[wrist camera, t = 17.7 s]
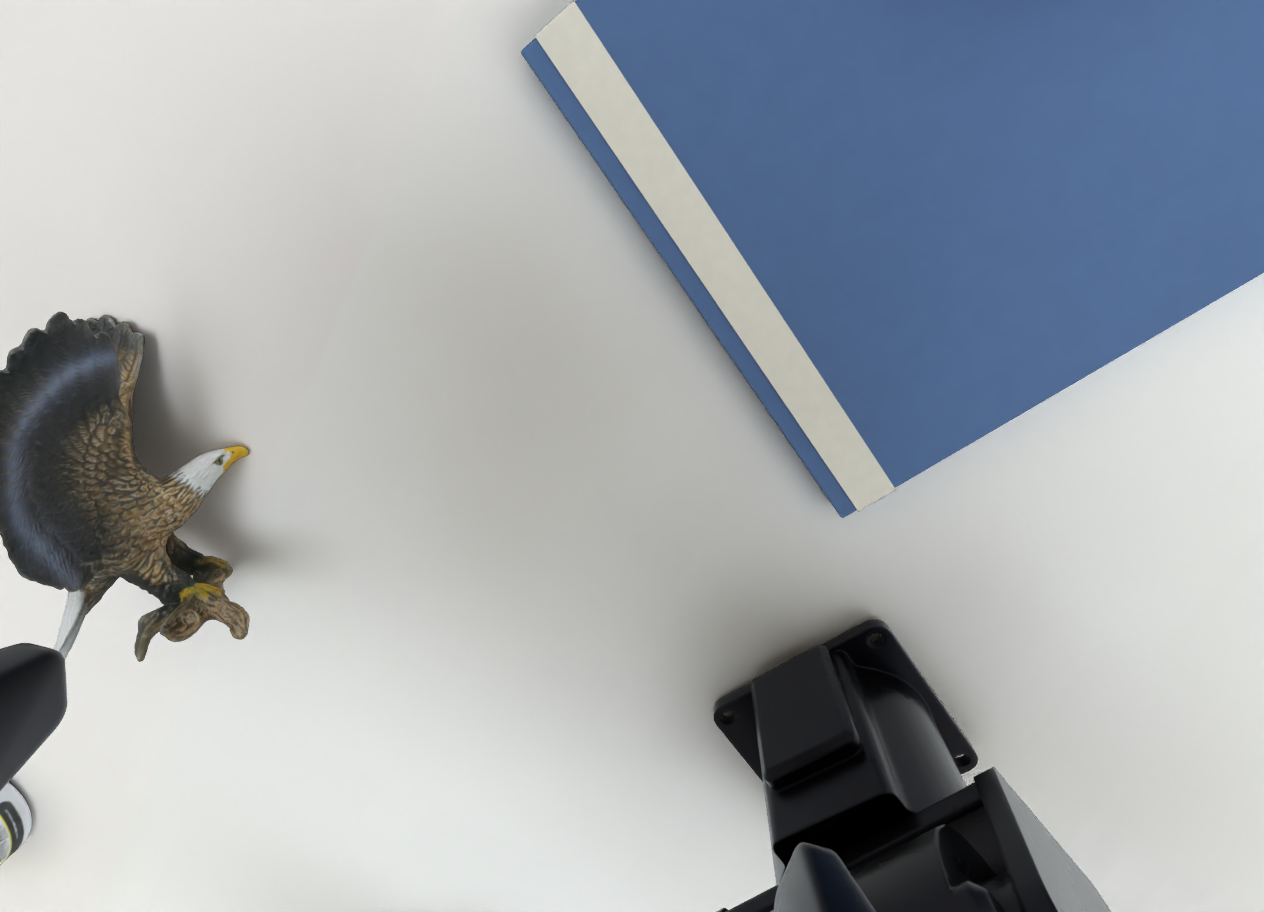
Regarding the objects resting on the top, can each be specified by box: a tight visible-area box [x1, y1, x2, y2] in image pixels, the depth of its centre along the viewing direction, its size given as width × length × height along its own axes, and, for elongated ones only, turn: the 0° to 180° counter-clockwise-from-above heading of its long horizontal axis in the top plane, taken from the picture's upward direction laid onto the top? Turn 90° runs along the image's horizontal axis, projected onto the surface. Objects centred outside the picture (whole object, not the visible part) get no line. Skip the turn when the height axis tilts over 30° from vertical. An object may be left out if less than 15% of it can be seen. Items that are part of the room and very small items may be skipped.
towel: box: [521, 0, 1264, 518], centre depth 16 cm, size 15×17×1 cm
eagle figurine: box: [0, 312, 249, 662], centre depth 19 cm, size 8×7×9 cm
